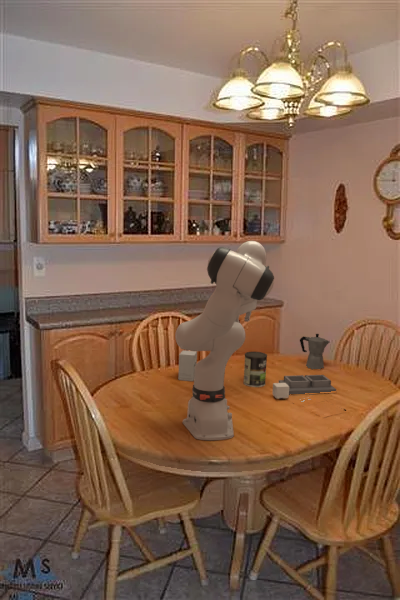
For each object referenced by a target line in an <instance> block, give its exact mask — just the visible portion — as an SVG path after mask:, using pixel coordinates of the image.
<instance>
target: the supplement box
mask: <svg viewBox="0 0 400 600" xmlns="http://www.w3.org/2000/svg"><path fill="white" fill-rule="evenodd" d="M197 359H198V351H190V350H184V349H182V350H181V352H179V354H178V376H177V377H178V381H185V382H194V369H195V366H196V364H197V363H198V360H197Z"/></svg>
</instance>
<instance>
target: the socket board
mask: <svg viewBox="0 0 400 600" xmlns="http://www.w3.org/2000/svg"><path fill="white" fill-rule="evenodd" d="M278 383H286V384H287V385H288V386H289V396H291V395H290V394H305V393H320V392H331V391H336V392H337V388H335V387H334V386H333V385H332V381H331V379H330V378H328V377H327V376H326V375H324V374H309V375H308V374H306V375H305V374H304V375H303V374H302V375H297V374H296V375H283V379H279V380H278Z"/></svg>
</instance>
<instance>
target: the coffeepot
mask: <svg viewBox="0 0 400 600" xmlns="http://www.w3.org/2000/svg"><path fill="white" fill-rule="evenodd" d="M319 336H320V334H319V333H315V336H312V337H311V336H305V335H304V336H301V338H300V339H299V343H300V347H301V350H302V352H303V353H307V352H309V353H308V357H307V360H306V363H305V366H307V367H308V368H307V367H306V368H307V369H309V368H311V369H310V370H313V369H321V368H323V369H325V366H324V365H325V364H324V356H323V354H324V351H325V349H326V348H327V345H328V344H330V343H331V342H330V340H327V339H325V338H323V337H319ZM304 341H306V342H308V343H307V344H308V350H306V349H305V344H304Z"/></svg>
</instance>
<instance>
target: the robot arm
mask: <svg viewBox="0 0 400 600" xmlns="http://www.w3.org/2000/svg"><path fill="white" fill-rule="evenodd" d="M266 264H267V252H266V249H265V247H264V246H263V245H262V244H261V243H260V242H258V241H255V240H249V241H245V242H243V243H242V244H241V245H239V247H237V249H236V251H233V250H231V248H229V247H225V246H220V247H217V248H216V250H214V251H213V252H212V253H211V255H210V256H209V258H208V261H207V268H206V270H207V274H208V275H207V276H208V277H209V278H210V284H211V285H213V284H215V285H216V286H215V289H214V291H213V292H212V294H210V297H209V298H208V300H207V302H206V304H205V307H204V309H203V311H202V313H201V314H199V315H197V316H196V317H194V318H192V319H190V320H187V321H184V322H182V323H180V324H179V325H178V326H177V328H176V331H175V341H176V344H177V346H178V347H179V348H180V350H184V351H197V352H209V354H208V355H207V356H206V357H204V358H202V359H200V360H199V361H197V364H196V366H195V369H194V380H193V385H192V397H191V398H190V399H189V400H188V402H187V416H186V418H184V419H183V420H182V424H183V425H184V426H185V428H186V429H187V430H188V431H189V433H190V435H192V436H193V437H194V439H197V440H201V441H220V440H221V441H222V440H228V439H231V438H234V436H235V435H234V425H233V413H232V412H228V410H230V405H228V399H227V398H226V389H225V388H226V387H225V385H224V384H225V372H226V367H227V363H228V362H229V360H230V358H231V356H232V355H233V354H234V353H235V352H237V351H238V350H239V349H240V348H242V346H243V344H244V343H245V340H246V330H245V327H244V325H242V323H240V322H241V321H240V319H239V318H240V316H241V315H244V314H245V316H244V322H247V323H248V322H250V320H251V318H250V317H251V315H252V311H255V310H256V308H257V307H258V306H257V305H258V301H262V300H264V299H265V298H266V297H267V296H268V295H270V294H271V292H272V290H273V288H274V284H275V281H274V280H275V276H274V273H273V272H272V271H271V269H270V266H269V265H267V266H266Z"/></svg>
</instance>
